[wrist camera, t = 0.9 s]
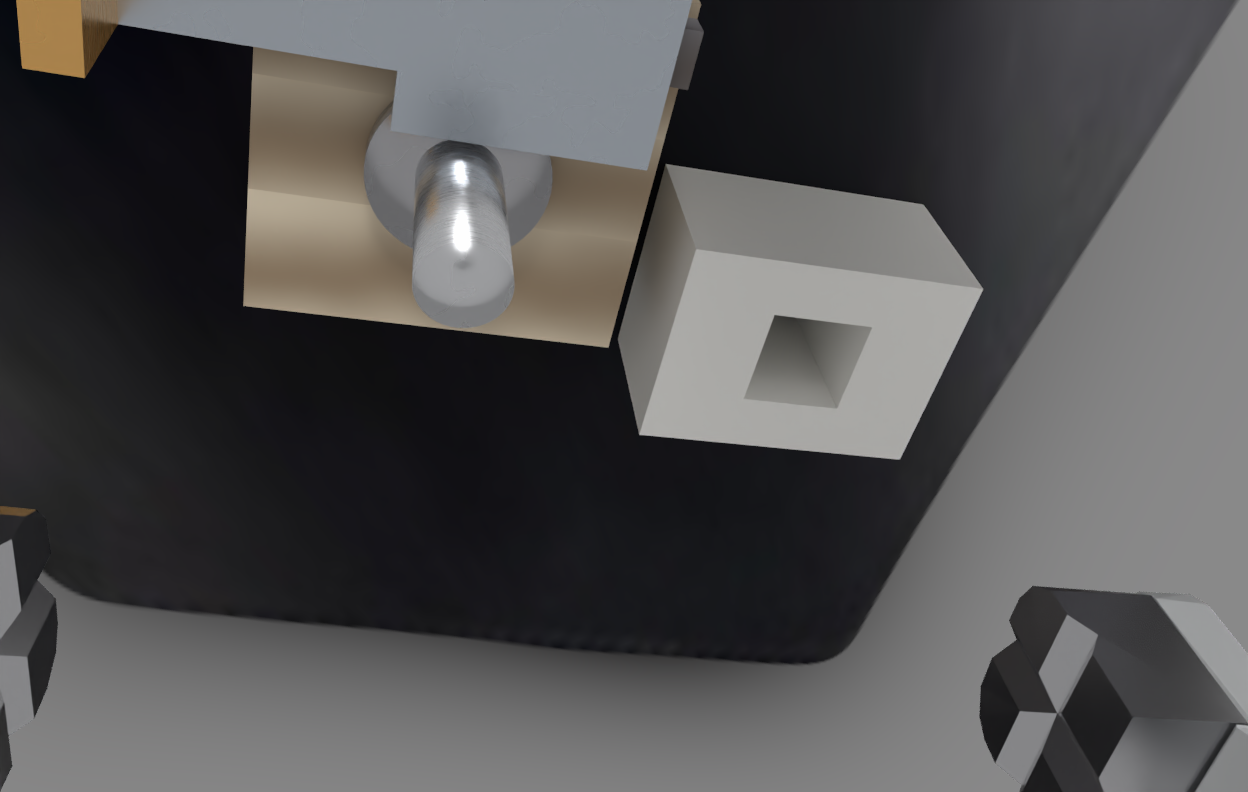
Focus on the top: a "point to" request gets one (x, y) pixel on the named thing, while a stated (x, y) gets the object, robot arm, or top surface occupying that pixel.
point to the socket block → (381, 264)
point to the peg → (455, 216)
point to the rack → (789, 315)
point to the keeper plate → (433, 59)
